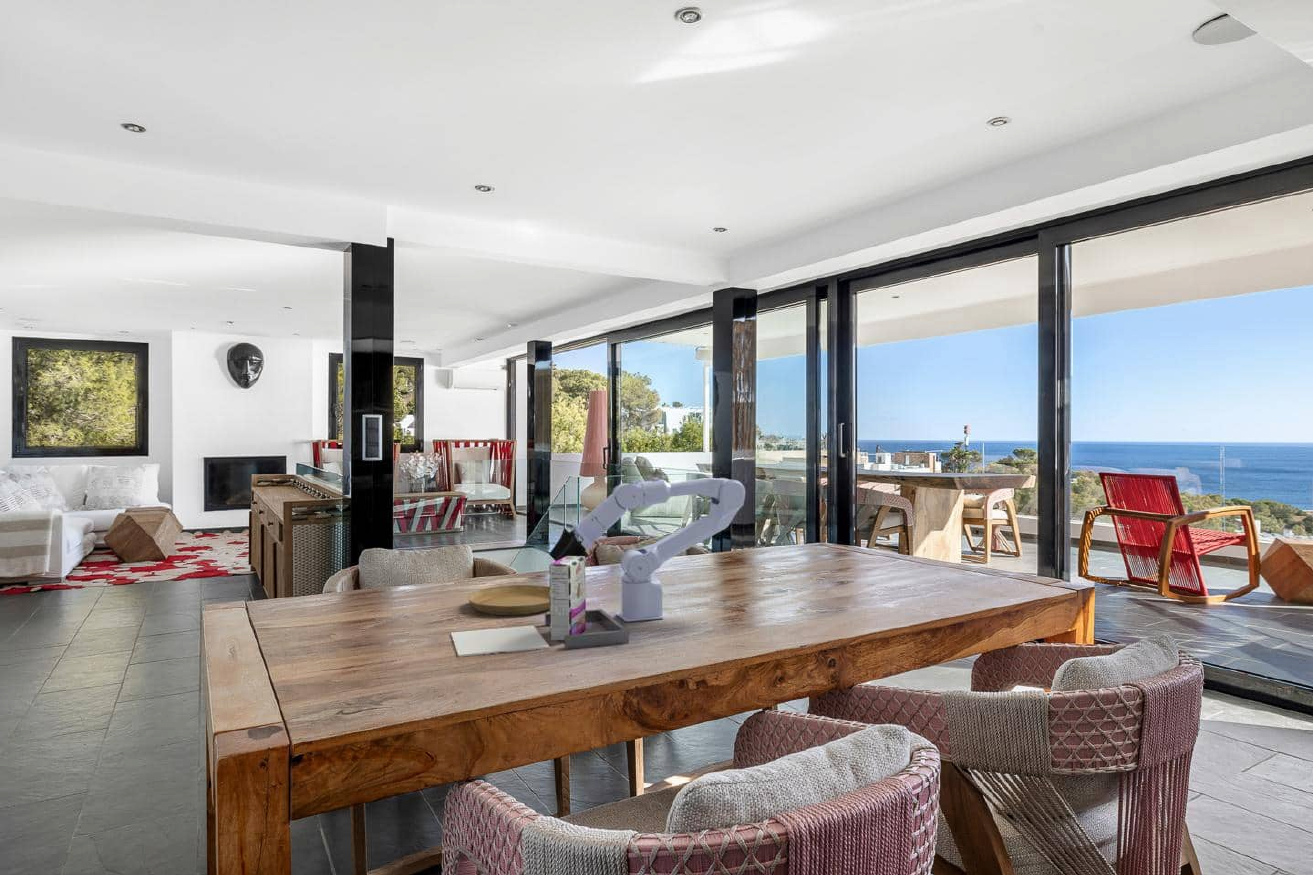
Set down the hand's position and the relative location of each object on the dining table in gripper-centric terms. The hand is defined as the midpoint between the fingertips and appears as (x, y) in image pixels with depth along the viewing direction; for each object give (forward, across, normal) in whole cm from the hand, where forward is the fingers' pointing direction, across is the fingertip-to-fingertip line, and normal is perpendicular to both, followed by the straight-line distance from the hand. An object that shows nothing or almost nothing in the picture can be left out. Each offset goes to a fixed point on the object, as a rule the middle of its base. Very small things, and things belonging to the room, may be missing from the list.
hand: (554, 561), depth 176 cm
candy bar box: (+8, +14, +10) cm, 19 cm away
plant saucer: (+16, -18, +8) cm, 25 cm away
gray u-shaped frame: (+5, +14, +12) cm, 19 cm away
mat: (+19, +15, 0) cm, 24 cm away
